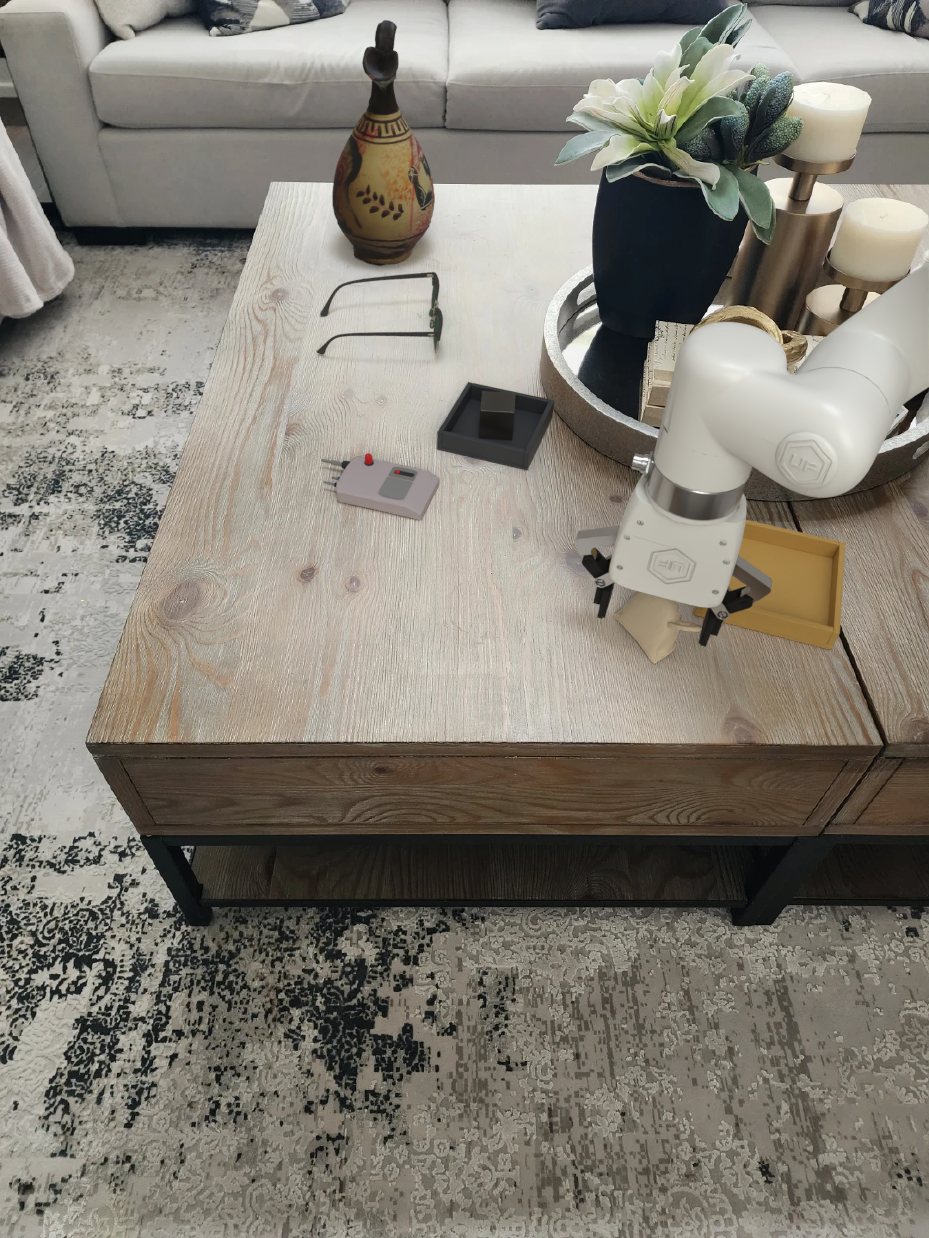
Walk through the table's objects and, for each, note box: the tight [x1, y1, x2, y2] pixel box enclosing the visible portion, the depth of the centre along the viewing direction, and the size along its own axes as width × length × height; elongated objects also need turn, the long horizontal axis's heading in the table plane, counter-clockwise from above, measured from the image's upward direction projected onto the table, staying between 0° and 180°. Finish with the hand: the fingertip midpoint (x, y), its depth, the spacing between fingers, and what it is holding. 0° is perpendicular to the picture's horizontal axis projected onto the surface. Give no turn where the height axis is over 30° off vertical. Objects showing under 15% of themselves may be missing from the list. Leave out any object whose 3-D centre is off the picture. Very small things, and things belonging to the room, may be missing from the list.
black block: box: [479, 391, 515, 440], centre depth 101 cm, size 4×4×4 cm
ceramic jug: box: [331, 19, 436, 266], centre depth 123 cm, size 17×15×30 cm
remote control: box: [320, 452, 454, 521], centre depth 94 cm, size 7×16×3 cm, turn 73°
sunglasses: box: [316, 271, 444, 355], centre depth 116 cm, size 16×17×5 cm
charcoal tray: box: [436, 381, 555, 471], centre depth 102 cm, size 11×11×2 cm
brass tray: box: [693, 519, 846, 651], centre depth 86 cm, size 13×13×2 cm
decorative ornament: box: [613, 591, 702, 665], centre depth 80 cm, size 4×8×5 cm, turn 26°
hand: (653, 621), depth 80 cm, fingers open, 9 cm apart
